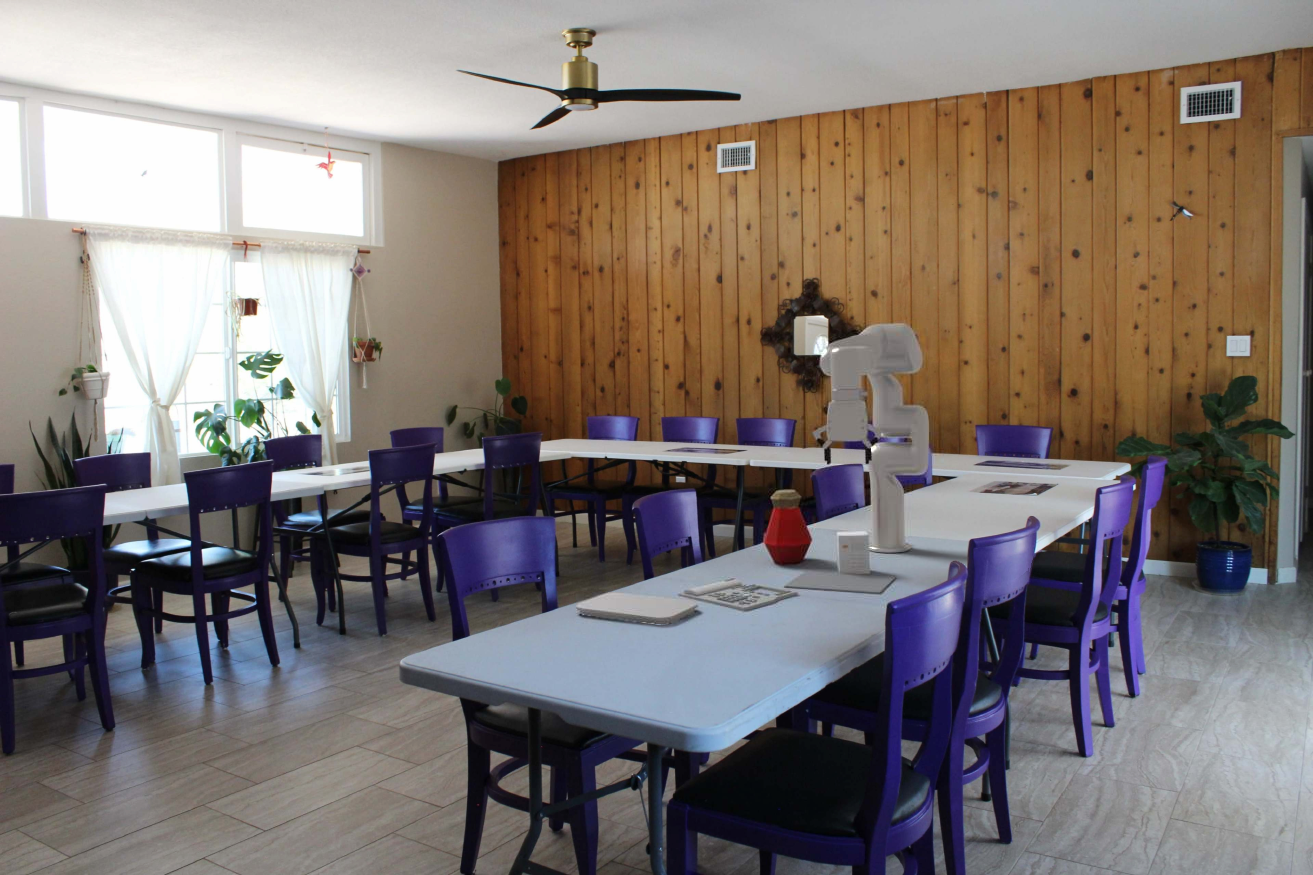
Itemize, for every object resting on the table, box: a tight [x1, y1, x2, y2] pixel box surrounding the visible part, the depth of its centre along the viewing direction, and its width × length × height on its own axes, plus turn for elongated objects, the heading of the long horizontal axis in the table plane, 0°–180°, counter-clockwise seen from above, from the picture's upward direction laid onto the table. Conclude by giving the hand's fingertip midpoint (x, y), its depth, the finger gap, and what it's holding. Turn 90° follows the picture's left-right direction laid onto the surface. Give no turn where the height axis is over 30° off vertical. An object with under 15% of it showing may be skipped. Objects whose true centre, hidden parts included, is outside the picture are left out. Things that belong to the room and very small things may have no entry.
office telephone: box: [677, 578, 799, 612], centre depth 239 cm, size 23×3×20 cm
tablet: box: [575, 592, 699, 625], centre depth 227 cm, size 16×26×2 cm, turn 58°
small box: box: [836, 530, 871, 575], centre depth 260 cm, size 8×6×10 cm
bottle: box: [762, 489, 813, 566], centre depth 277 cm, size 16×14×20 cm
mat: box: [783, 570, 897, 595], centre depth 249 cm, size 18×24×1 cm
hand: (848, 463), depth 248 cm, fingers open, 9 cm apart
